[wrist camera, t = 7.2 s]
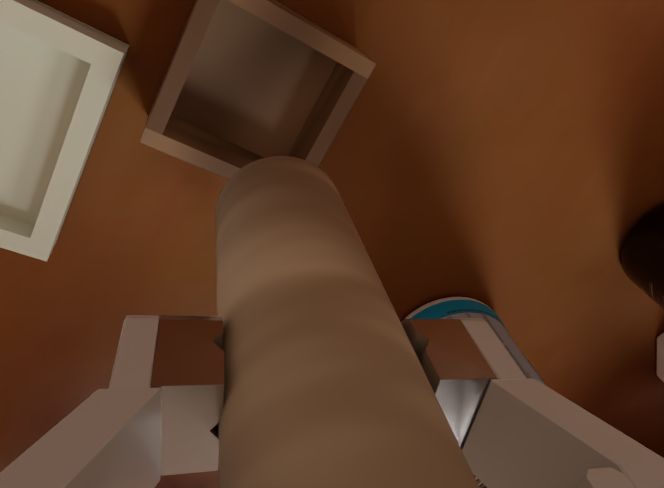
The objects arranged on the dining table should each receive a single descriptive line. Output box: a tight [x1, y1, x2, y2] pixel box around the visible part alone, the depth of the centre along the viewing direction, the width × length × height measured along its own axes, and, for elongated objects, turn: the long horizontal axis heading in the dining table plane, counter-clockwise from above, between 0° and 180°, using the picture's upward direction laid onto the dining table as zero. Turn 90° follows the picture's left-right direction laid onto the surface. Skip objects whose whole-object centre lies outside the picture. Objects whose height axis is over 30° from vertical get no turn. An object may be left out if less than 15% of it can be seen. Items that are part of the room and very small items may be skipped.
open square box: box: [140, 0, 376, 179], centre depth 24 cm, size 7×7×4 cm
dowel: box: [216, 156, 480, 488], centre depth 9 cm, size 3×3×10 cm
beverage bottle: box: [405, 297, 548, 488], centre depth 28 cm, size 8×8×20 cm
